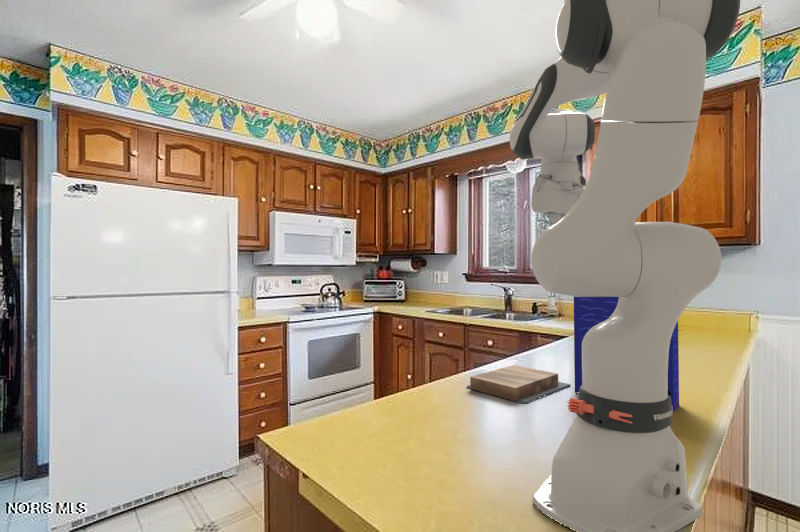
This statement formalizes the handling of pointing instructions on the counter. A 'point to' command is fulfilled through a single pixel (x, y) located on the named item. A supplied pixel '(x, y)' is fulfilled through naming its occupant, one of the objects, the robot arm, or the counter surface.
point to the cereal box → (601, 309)
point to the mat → (538, 394)
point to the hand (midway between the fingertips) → (559, 232)
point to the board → (514, 381)
